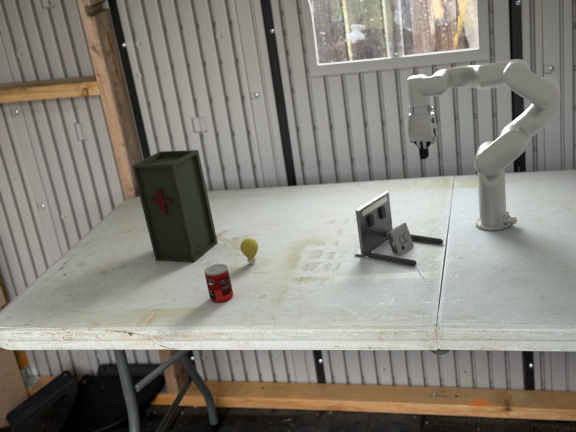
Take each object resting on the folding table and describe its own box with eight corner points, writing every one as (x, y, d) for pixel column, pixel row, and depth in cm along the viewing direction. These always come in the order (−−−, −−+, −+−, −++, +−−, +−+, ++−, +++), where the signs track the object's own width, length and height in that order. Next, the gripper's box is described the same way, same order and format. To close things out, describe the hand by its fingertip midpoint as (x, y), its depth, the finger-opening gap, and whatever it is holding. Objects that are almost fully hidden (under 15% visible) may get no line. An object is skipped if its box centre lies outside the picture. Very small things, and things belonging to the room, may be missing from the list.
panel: (395, 236, 250) (390, 191, 244) (366, 257, 236) (360, 211, 230) (384, 234, 253) (379, 190, 247) (354, 255, 240) (348, 209, 233)
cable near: (417, 265, 224) (417, 259, 224) (414, 267, 223) (414, 262, 222) (368, 256, 237) (368, 250, 237) (365, 258, 236) (365, 253, 235)
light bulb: (263, 259, 249) (259, 235, 245) (257, 267, 243) (252, 242, 240) (247, 259, 251) (242, 235, 248) (240, 267, 245) (236, 242, 242)
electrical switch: (400, 256, 233) (396, 232, 230) (388, 255, 237) (383, 231, 234) (414, 246, 239) (410, 222, 237) (402, 245, 243) (397, 221, 240)
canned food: (210, 294, 228) (204, 266, 224) (233, 290, 228) (227, 262, 224) (210, 305, 221) (203, 275, 217) (233, 300, 221) (227, 271, 217)
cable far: (444, 243, 237) (443, 238, 237) (441, 245, 236) (441, 240, 235) (396, 235, 250) (395, 231, 250) (393, 237, 249) (393, 233, 248)
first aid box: (217, 243, 272) (198, 150, 258) (194, 262, 257) (172, 164, 243) (180, 241, 280) (159, 151, 266) (155, 260, 265) (132, 165, 251)
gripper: (443, 107, 237) (447, 156, 243) (407, 107, 247) (412, 154, 253) (433, 112, 232) (437, 162, 238) (397, 112, 242) (401, 160, 248)
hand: (424, 158), depth 246 cm, fingers closed
